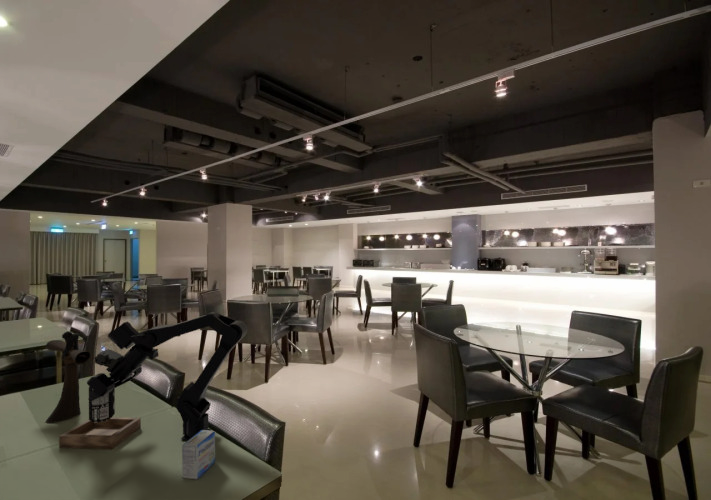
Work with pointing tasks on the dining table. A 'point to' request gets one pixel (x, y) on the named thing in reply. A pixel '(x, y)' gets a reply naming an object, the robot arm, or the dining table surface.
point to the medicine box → (198, 454)
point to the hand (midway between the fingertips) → (97, 395)
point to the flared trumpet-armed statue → (68, 376)
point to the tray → (100, 433)
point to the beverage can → (102, 407)
